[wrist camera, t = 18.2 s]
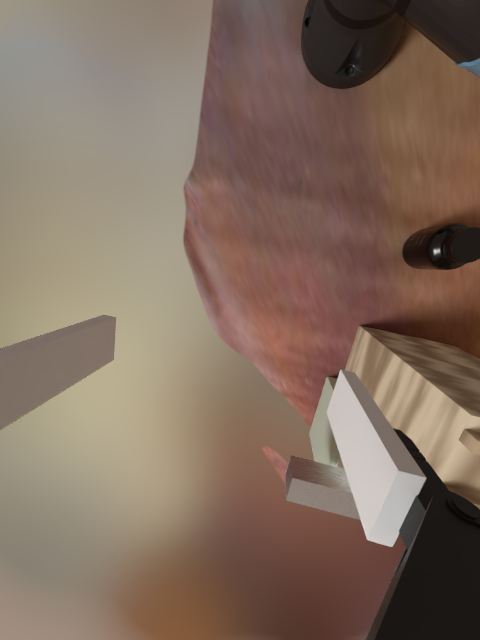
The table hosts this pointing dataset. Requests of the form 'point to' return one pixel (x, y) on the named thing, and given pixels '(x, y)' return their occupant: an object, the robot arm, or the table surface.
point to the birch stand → (426, 400)
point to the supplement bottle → (442, 247)
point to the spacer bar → (320, 487)
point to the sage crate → (324, 429)
